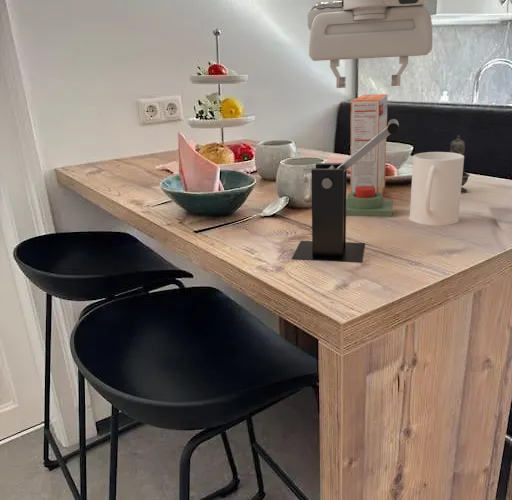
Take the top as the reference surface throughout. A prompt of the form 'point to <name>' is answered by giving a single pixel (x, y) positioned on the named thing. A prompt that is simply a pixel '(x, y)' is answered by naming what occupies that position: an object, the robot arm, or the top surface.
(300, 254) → the lever bracket
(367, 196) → the button
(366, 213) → the button block
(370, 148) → the press lever
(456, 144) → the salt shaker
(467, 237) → the top surface
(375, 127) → the cracker box
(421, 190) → the mug
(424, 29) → the robot arm
